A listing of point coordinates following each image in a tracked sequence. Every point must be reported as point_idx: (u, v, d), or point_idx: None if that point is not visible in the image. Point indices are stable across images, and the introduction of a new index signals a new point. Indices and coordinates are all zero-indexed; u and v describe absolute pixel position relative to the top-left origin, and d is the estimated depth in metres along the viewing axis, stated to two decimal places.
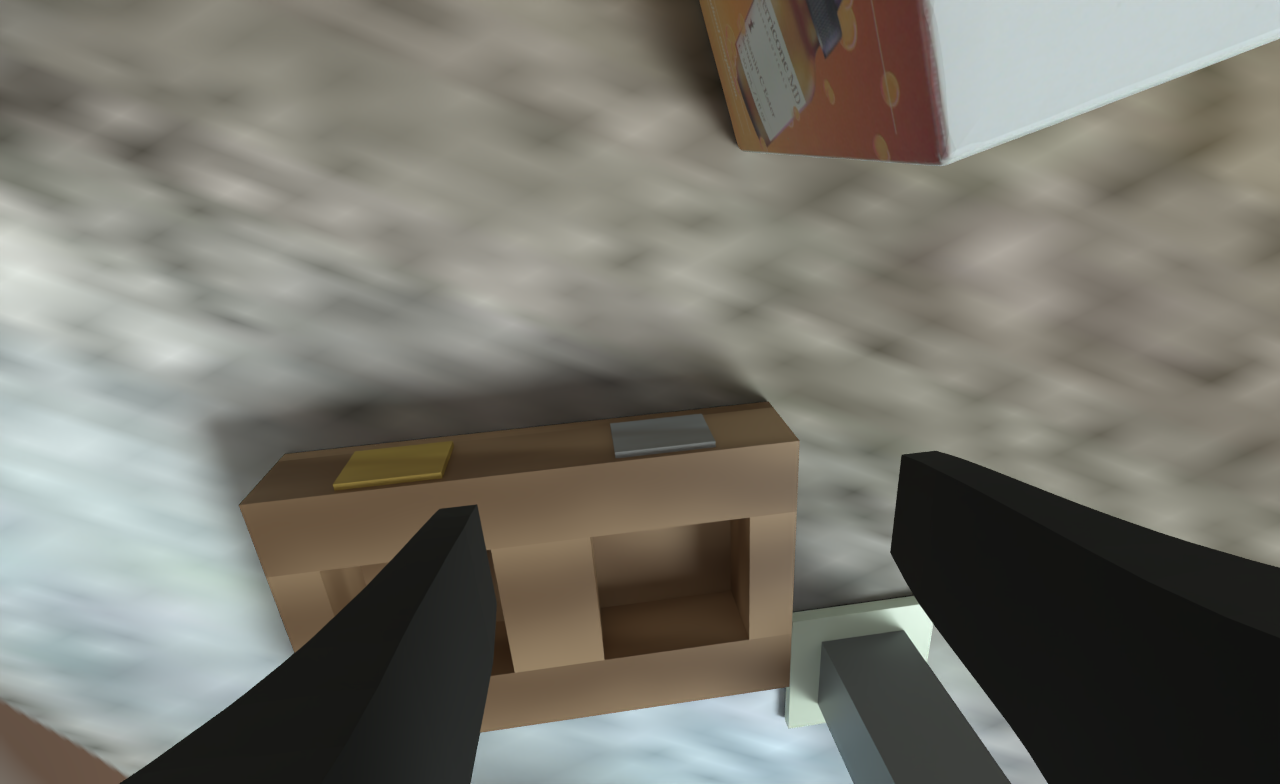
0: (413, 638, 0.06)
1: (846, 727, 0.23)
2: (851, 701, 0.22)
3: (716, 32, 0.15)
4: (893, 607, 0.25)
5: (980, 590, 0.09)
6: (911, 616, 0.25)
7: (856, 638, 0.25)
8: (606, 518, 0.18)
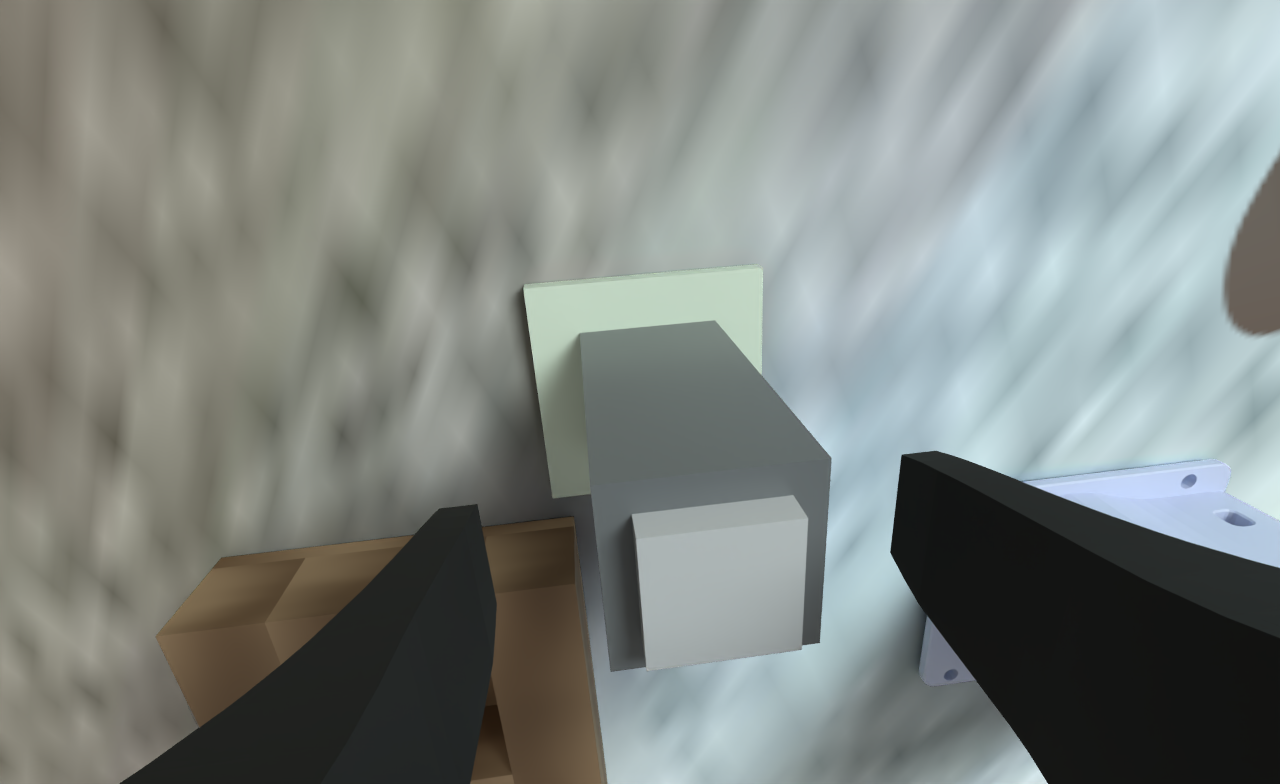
0: (413, 638, 0.06)
1: None
2: None
3: None
4: (533, 357, 0.16)
5: (980, 590, 0.09)
6: (551, 325, 0.15)
7: None
8: None
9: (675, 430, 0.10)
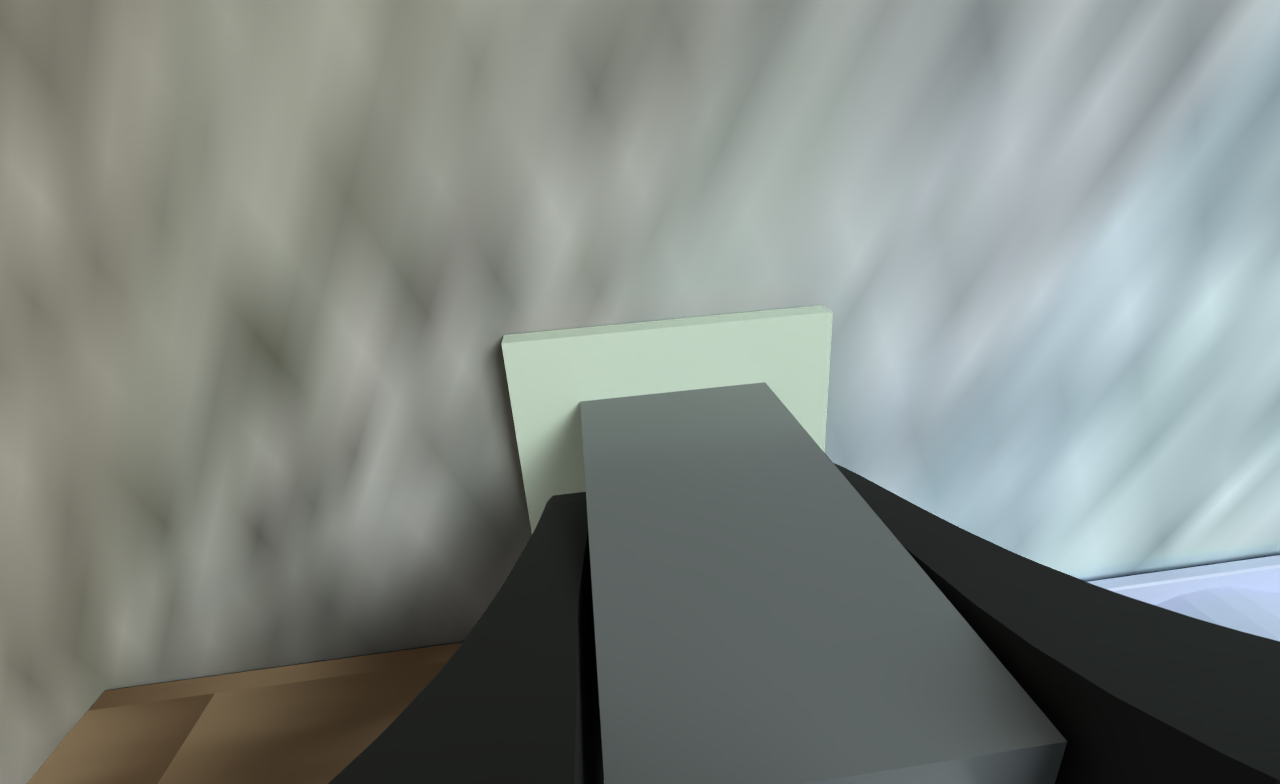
0: (580, 616, 0.07)
1: None
2: None
3: None
4: (516, 434, 0.11)
5: None
6: (542, 392, 0.11)
7: None
8: None
9: (748, 636, 0.06)
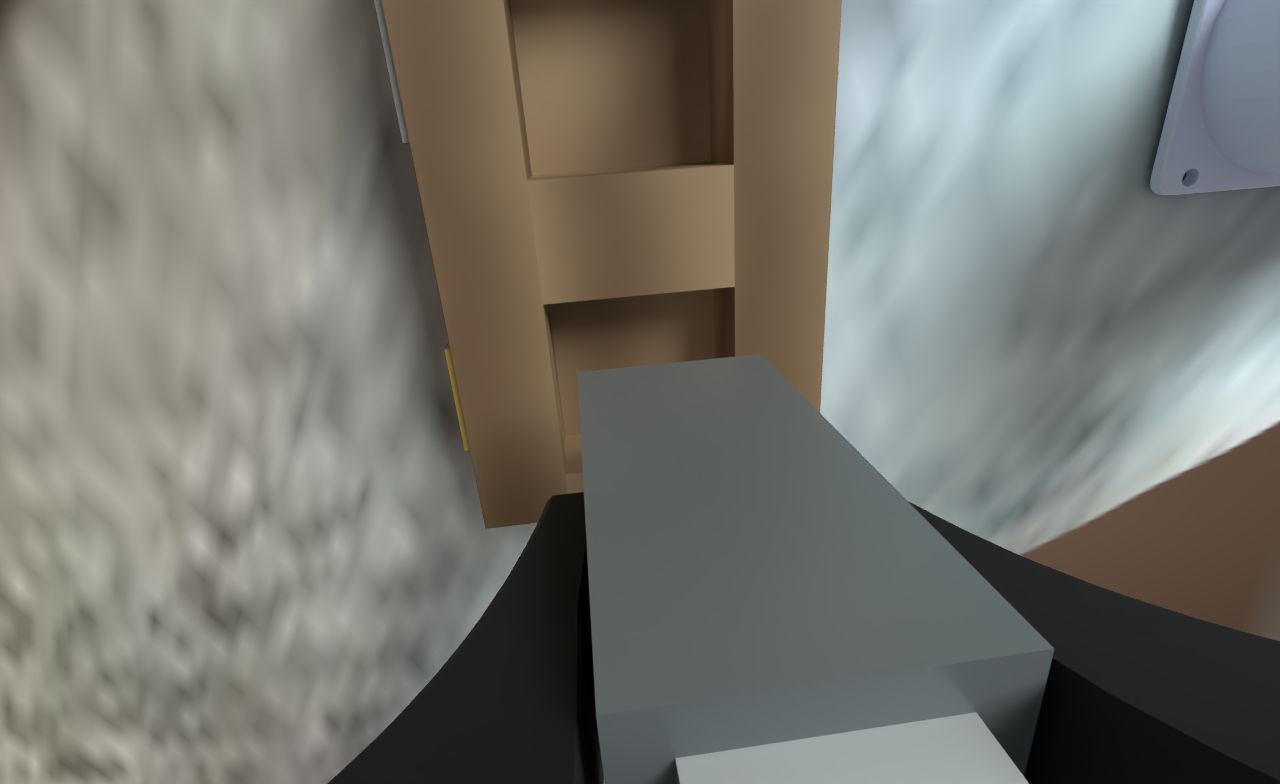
0: (579, 616, 0.07)
1: None
2: None
3: None
4: None
5: None
6: None
7: None
8: (498, 157, 0.14)
9: (740, 564, 0.06)
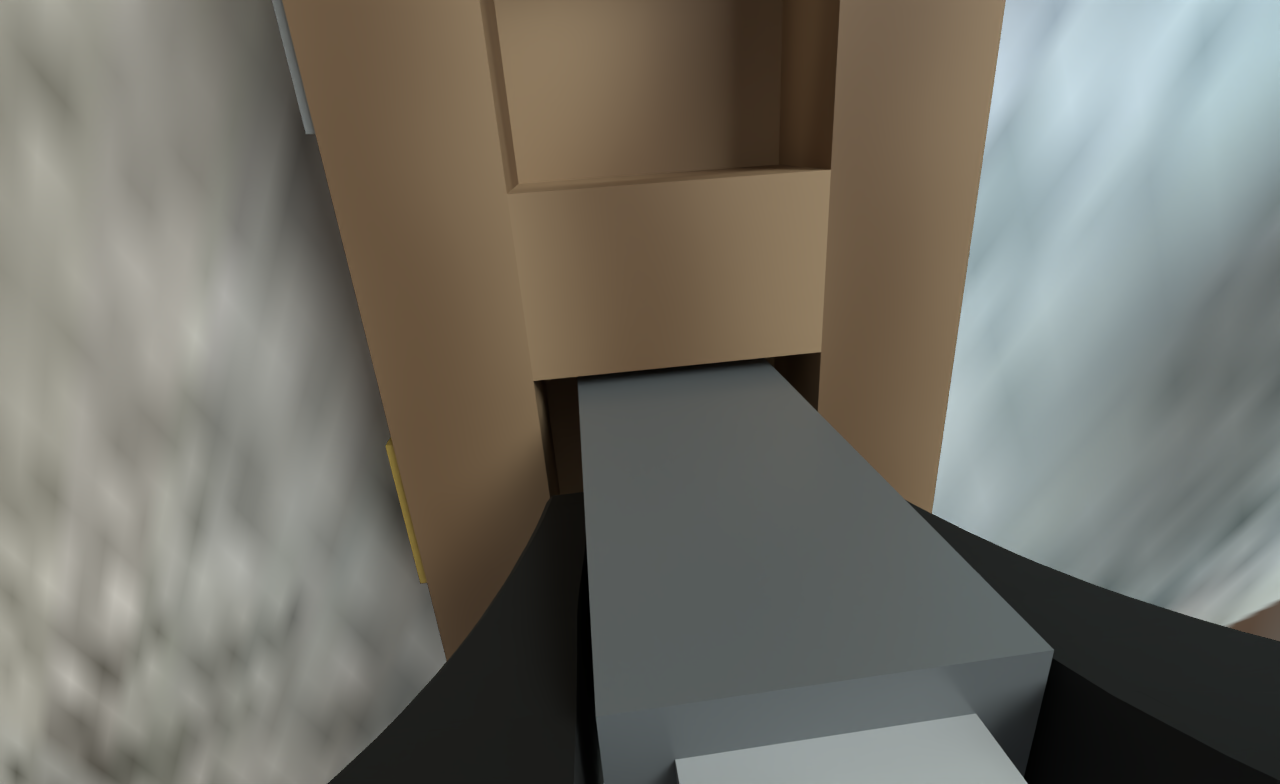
0: (580, 616, 0.07)
1: None
2: None
3: None
4: None
5: None
6: None
7: None
8: (460, 157, 0.09)
9: (740, 565, 0.06)
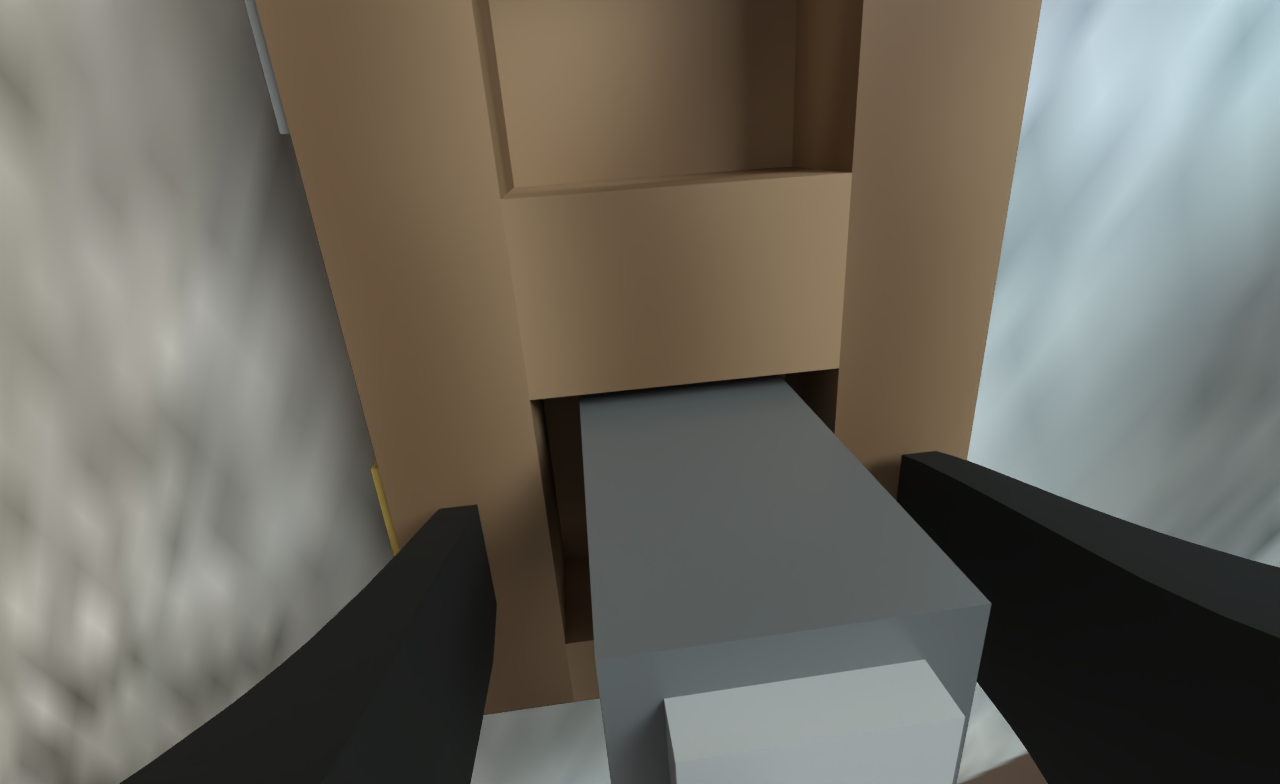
0: (413, 638, 0.06)
1: None
2: None
3: None
4: None
5: (980, 590, 0.09)
6: None
7: None
8: (449, 158, 0.08)
9: (724, 535, 0.07)
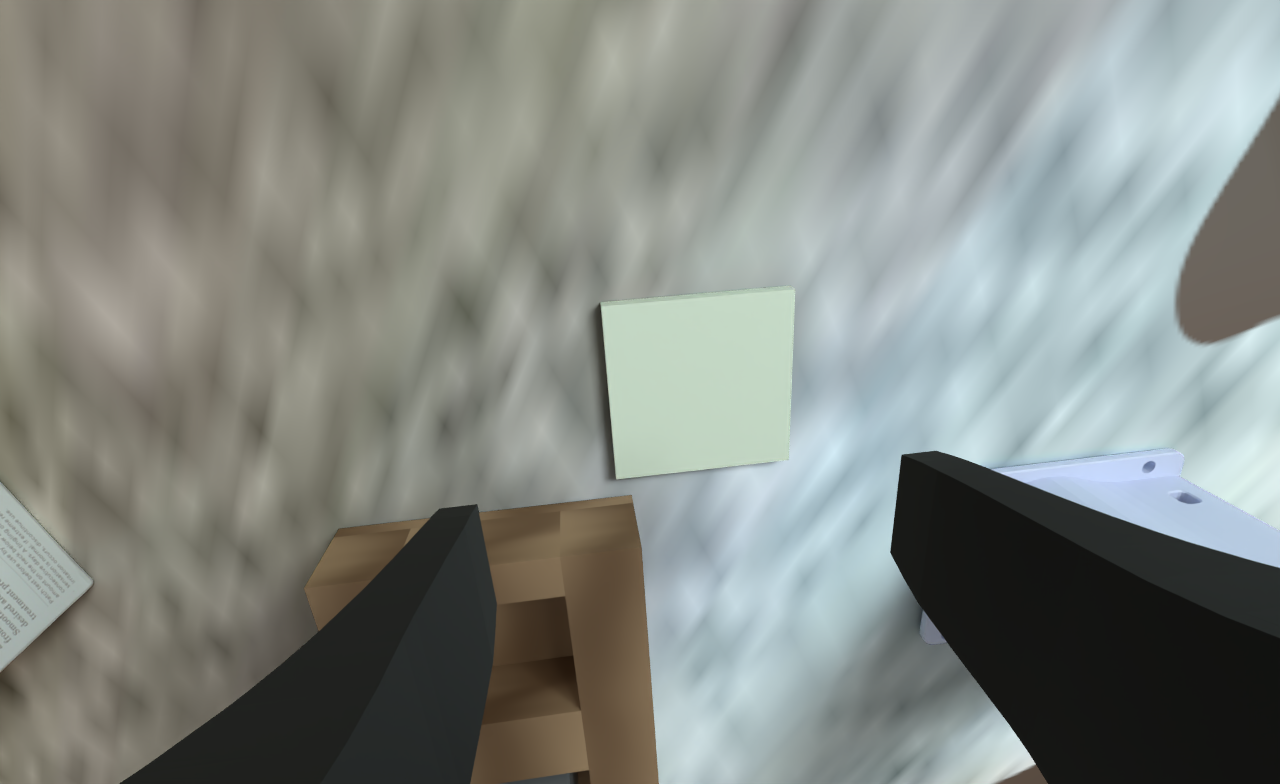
0: (413, 638, 0.06)
1: None
2: None
3: None
4: (606, 362, 0.19)
5: (980, 590, 0.09)
6: (622, 336, 0.19)
7: None
8: None
9: None
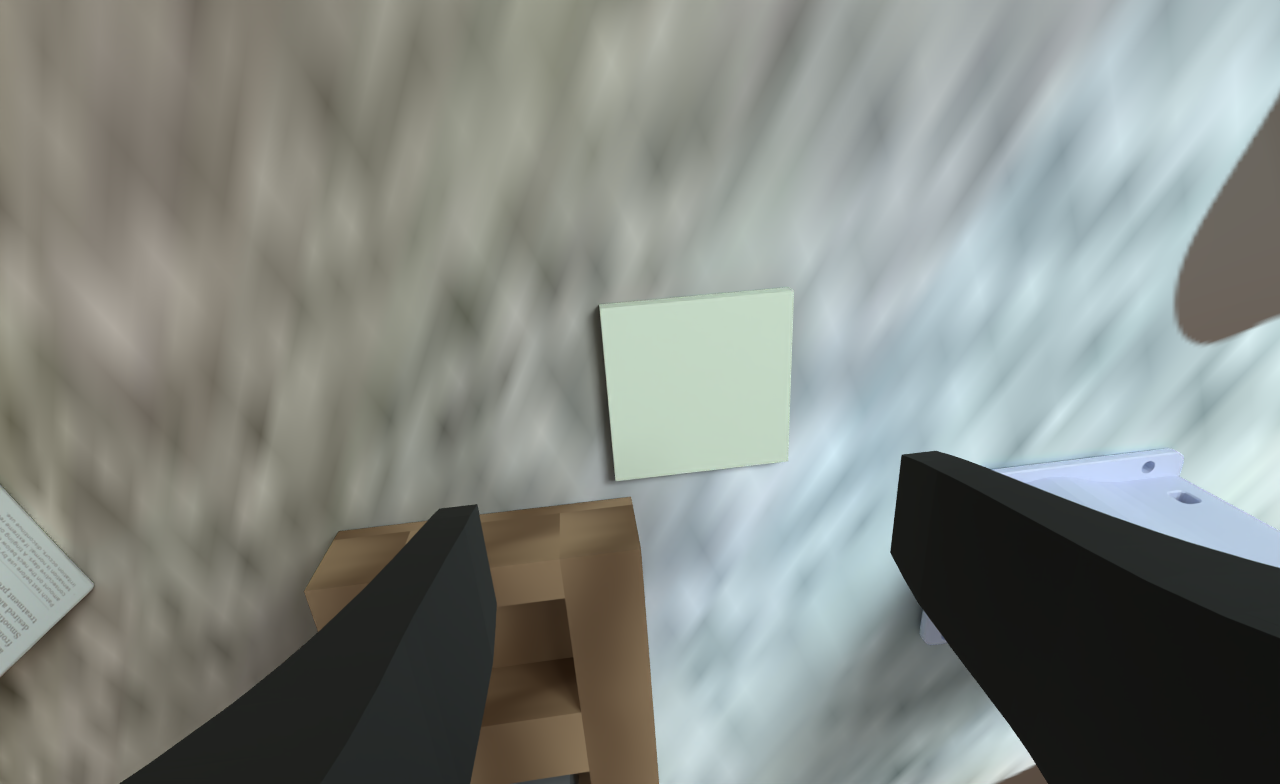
0: (413, 638, 0.06)
1: None
2: None
3: None
4: (605, 364, 0.19)
5: (980, 590, 0.09)
6: (621, 338, 0.19)
7: None
8: None
9: None
